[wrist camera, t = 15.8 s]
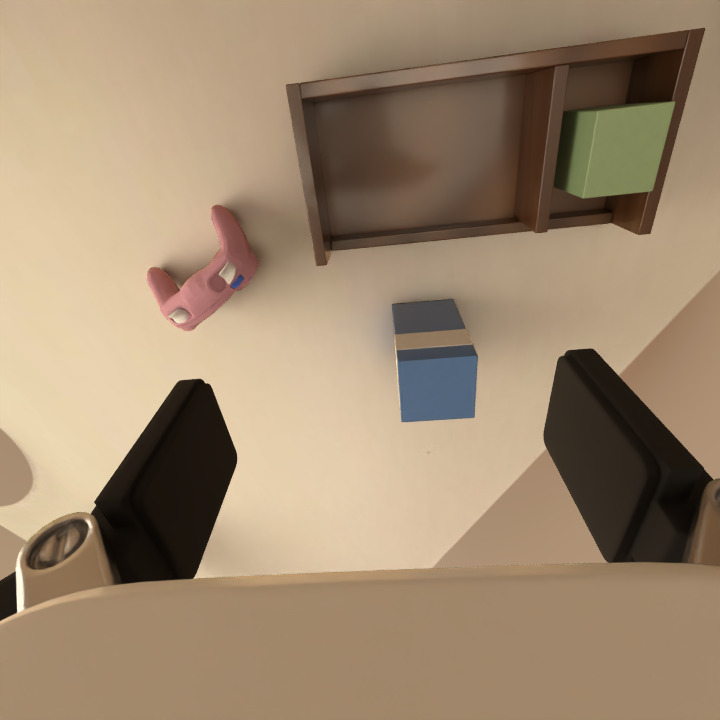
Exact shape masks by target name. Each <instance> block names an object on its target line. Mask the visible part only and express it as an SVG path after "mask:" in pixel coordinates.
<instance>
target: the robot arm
mask: <svg viewBox="0 0 720 720" xmlns="http://www.w3.org/2000/svg"><path fill="white" fill-rule="evenodd" d="M544 443H545V446H546V448H547V450H548V451H549V454H550V456H551V457H552V459H553V461H554V463H555V465H556V467H557V469H558V471H559V473H560V475H561V477H562V479H563V481H564V482H565V484H566V486H567V488H568V490H569V492H570V494H571V496H572V498H573V500H574V501H575V504H576V505H577V507H578V509H579V511H580V513H581V515H582V517H583V519H584V521H585V523H586V525H587V527H588V528H589V530H590V532H591V534H592V536H593V538H594V540H595V542H596V544H597V546H598V548H599V550H600V552H601V553H602V555H603V557H604V559H605V560H606V561H607V562H608V563H581V564H580V563H578V564H576V563H575V564H544V565H543V564H541V565H513V566H484V567H455V568H428V569H403V570H377V571H353V572H328V573H305V574H283V575H261V576H239V577H217V578H199V579H193V578H194V577H195V575H196V573H197V570H198V568H199V565H200V562H201V560H202V557H203V554H204V551H205V549H206V546H207V543H208V541H209V538H210V535H211V532H212V530H213V527H214V524H215V522H216V519H217V516H218V514H219V511H220V508H221V505H222V503H223V500H224V497H225V495H226V492H227V489H228V486H229V484H230V481H231V478H232V476H233V473H234V470H235V468H236V464H237V453H236V450H235V447H234V445H233V442H232V439H231V437H230V434H229V432H228V429H227V426H226V424H225V421H224V418H223V416H222V413H221V411H220V408H219V405H218V403H217V400H216V397H215V395H214V392H213V390H212V387H211V385H210V384H208V383H207V384H205V382H204V381H203V380H202V379H192V380H181V381H178V382H177V384H176V385H175V386H174V388H173V389H172V391H171V392H170V394H169V395H168V397H167V398H166V399H165V401H164V402H163V404H162V405H161V407H160V408H159V409H158V411H157V412H156V414H155V415H154V417H153V418H152V420H151V421H150V422H149V424H148V425H147V427H146V428H145V430H144V431H143V432H142V434H141V435H140V437H139V438H138V440H137V441H136V443H135V444H134V445H133V447H132V448H131V450H130V451H129V453H128V454H127V456H126V457H125V458H124V460H123V461H122V463H121V464H120V466H119V467H118V468H117V470H116V471H115V473H114V474H113V476H112V477H111V479H110V480H109V481H108V483H107V484H106V486H105V487H104V489H103V490H102V492H101V493H100V494H99V496H98V497H97V499H96V500H95V502H94V503H95V504H96V507H95V508H94V510H93V511H92V513H91V514H89V513H85V512H77V513H72V514H68V515H65V516H63V517H60V518H58V519H56V520H54V521H52V522H51V523H49V524H47V525H46V526H44V527H43V528H41V529H40V530H39V531H38V532H37V533H36V534H34V535H33V536H32V537H31V538H30V539H29V541H28V542H27V543H26V544H25V545H24V546H23V548H22V550H21V552H20V554H19V555H18V558H17V562H16V571H15V572H14V573H12V574H10V575H9V576H7V577H5V578H4V579H2V580H1V581H0V720H720V479H715V480H713V479H712V478H711V476H710V475H709V474H708V473H707V472H706V471H705V470H704V468H703V466H702V465H701V464H700V463H699V462H698V461H697V460H696V459H695V458H694V457H693V456H692V455H691V454H690V453H689V452H688V450H687V449H686V448H685V447H684V446H683V445H682V444H681V443H680V442H679V441H678V439H677V438H676V437H675V436H674V435H673V434H672V433H671V432H670V431H669V430H668V429H667V428H666V427H665V425H664V424H662V422H661V421H660V420H659V419H658V418H657V417H656V416H655V415H654V414H653V413H652V412H651V410H650V409H649V408H648V407H647V406H646V405H645V404H644V403H643V402H642V401H641V400H640V398H639V397H638V396H637V395H636V394H635V393H634V392H633V391H632V390H631V389H630V388H629V387H628V386H627V384H626V383H625V382H623V380H622V379H621V378H620V377H619V376H618V375H617V374H616V373H615V372H614V370H613V369H612V368H611V367H610V366H609V365H608V364H607V363H606V362H605V361H604V360H603V359H602V357H601V356H600V355H599V354H598V353H597V352H596V351H595V350H594V349H578V350H568V351H567V352H566V353H565V355H564V356H561V357H559V359H558V361H557V366H556V371H555V376H554V382H553V387H552V392H551V397H550V402H549V407H548V413H547V418H546V423H545V428H544Z"/></svg>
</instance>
